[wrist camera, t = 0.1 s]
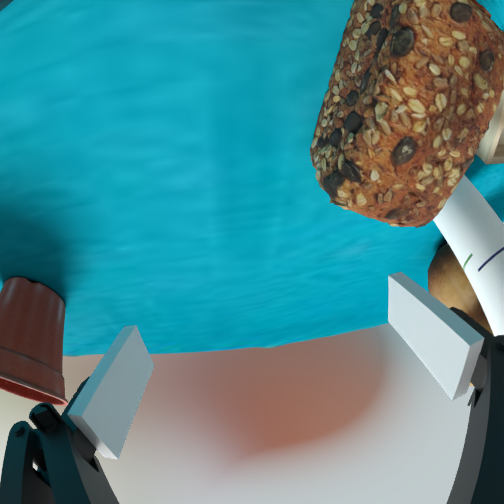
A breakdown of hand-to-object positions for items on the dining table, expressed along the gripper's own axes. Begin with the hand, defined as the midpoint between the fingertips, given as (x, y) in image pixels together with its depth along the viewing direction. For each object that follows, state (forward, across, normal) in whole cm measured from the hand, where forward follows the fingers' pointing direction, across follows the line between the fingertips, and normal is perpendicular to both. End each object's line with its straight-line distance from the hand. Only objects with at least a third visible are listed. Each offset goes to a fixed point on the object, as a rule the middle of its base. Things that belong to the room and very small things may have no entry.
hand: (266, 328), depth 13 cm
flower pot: (+20, -37, -2) cm, 42 cm away
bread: (+10, +13, +14) cm, 22 cm away
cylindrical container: (+18, +24, +2) cm, 30 cm away
